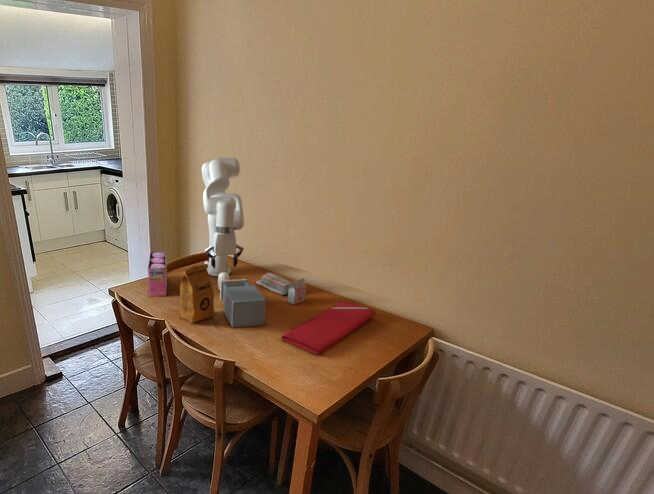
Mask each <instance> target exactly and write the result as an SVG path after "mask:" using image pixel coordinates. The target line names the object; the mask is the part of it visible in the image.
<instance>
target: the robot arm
mask: <svg viewBox="0 0 654 494" xmlns="http://www.w3.org/2000/svg"><path fill="white" fill-rule="evenodd" d="M240 172H241V165H240V162H239V159H238V158H236V157H218V158H214V159H212V160H210V161H206V162H204V163H203V164H202V166H201V177H202V181H203V184H204V186H205V189H204V190H203V196H202V201H203V203H202V204H203V210H204V212H205V213H206V214H207V225H208V236H209V243H208V244H209V245H208V246H209V247H207V248H206V249H205V253H206V255H207V256H208V259H209V260H208V261H207V260H205V261H204V263H203V264H206V263H207V264H208V268H207V271H208V274H209V276H211V277H216V278H218V276H219V274H220V273H222V272H226V273H227V274H228V275H229V276H230V274H231V273H232V270H231V268H229V256H233V257H232V265H233V267H234V268H236V267H237V265H238V259H239V257H240V256H241V255H242V253H243V252H244V250H245V248H244V247H243V246H241V245H240V244H237V237H236V232H235V231H239V230H242V229H243V228H244V225H245V216H244V210H243V203H242V198H241V196H240V194H238V193H237V192H236V193H235V192H229V193H228V192H227V193H226V191H227V190H228V189H229V186H230V179H235V178H237V177H238V176H239V175H240ZM237 249H238V251H237Z"/></svg>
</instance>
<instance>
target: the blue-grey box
mask: <svg viewBox="0 0 654 494" xmlns="http://www.w3.org/2000/svg"><path fill="white" fill-rule="evenodd" d="M266 303H267V300H266V298H265V297H264V296H263V294H262V293H261V292H260V290H259V289H258V288H257V287H256V285H249V286H239V287H225V288H224V302H223V313H224V314H225V316H226V318H227V320H228V322H229V324H230V326H231V328H244V327H254V326H255V327H256V326H265V319H266V317H265V315H266Z"/></svg>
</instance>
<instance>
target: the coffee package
mask: <svg viewBox="0 0 654 494" xmlns="http://www.w3.org/2000/svg"><path fill="white" fill-rule="evenodd" d="M207 269H208V264H207V263H206V264H204V263H203V264H199V265H193V266H191V267H189V268H185V269H184V272H183V274H182V277H181V280H180V286H179V297H180V299H179V300H180V302H179V303H180V304H179V305H180V318H181V319H183V320H186V321H187V322H188V323H193V324H194V323H197V322H199V321H202V320H206V319H208V318H211V317H214V314H215V303H214V300H215V292H214V285H213V283H212V280H211V278H210V275H209V274H208V271H207Z"/></svg>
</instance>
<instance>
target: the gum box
mask: <svg viewBox="0 0 654 494" xmlns="http://www.w3.org/2000/svg"><path fill="white" fill-rule="evenodd" d="M147 276H148V277H147V278H148V295H149V297H163V296H164V297H165V296H167V294H168V291H167V290H168V263H167V252H166V251H162V252H154V251H150V253H149V260H148V266H147Z"/></svg>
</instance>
